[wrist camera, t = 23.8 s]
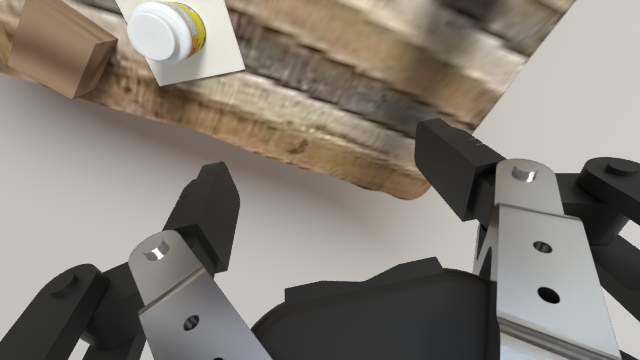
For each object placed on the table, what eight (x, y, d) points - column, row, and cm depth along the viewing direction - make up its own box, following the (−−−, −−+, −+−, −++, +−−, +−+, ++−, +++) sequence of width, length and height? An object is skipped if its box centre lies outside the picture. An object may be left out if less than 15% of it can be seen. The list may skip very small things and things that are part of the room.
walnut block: (61, -1, 29) (25, -2, 25) (118, 38, 32) (95, 43, 28) (41, 57, 32) (7, 64, 28) (96, 88, 35) (71, 99, 31)
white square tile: (210, -44, 29) (209, -44, 28) (245, 68, 36) (244, 69, 35) (105, -24, 28) (102, -24, 28) (160, 85, 35) (159, 86, 35)
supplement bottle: (178, 59, 34) (144, 78, 25) (149, 12, 30) (100, 15, 22) (216, 44, 33) (195, 58, 25) (191, -6, 30) (157, -10, 22)
